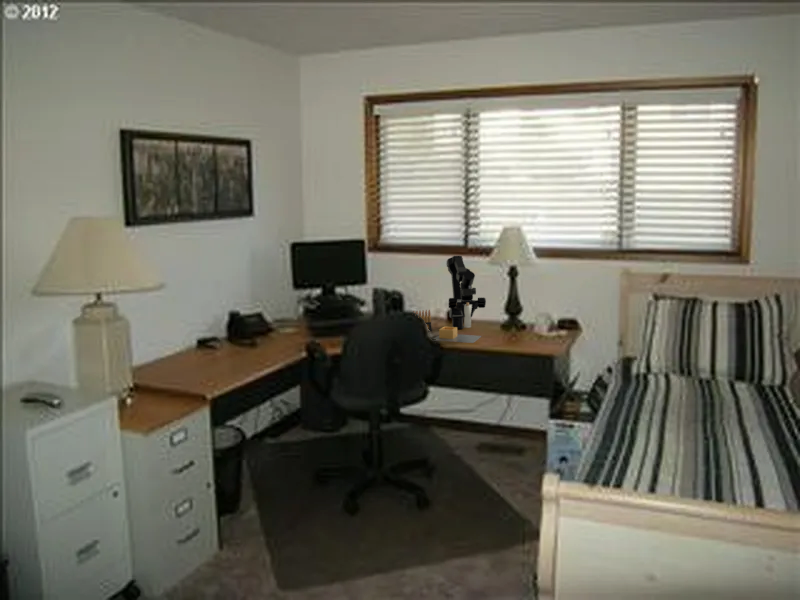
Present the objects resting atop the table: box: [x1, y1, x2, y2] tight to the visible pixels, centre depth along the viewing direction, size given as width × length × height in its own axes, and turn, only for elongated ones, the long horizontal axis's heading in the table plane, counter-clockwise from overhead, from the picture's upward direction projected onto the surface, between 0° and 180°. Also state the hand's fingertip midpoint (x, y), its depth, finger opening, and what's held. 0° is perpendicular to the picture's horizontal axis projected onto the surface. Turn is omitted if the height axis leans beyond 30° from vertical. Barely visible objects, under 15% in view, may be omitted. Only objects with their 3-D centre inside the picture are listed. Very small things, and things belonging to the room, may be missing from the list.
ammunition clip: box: [412, 309, 433, 332], centre depth 380 cm, size 11×2×12 cm, turn 107°
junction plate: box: [433, 326, 482, 344], centre depth 360 cm, size 16×22×6 cm
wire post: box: [463, 302, 472, 329], centre depth 353 cm, size 4×4×12 cm
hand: (467, 316), depth 352 cm, fingers closed on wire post, 3 cm apart
